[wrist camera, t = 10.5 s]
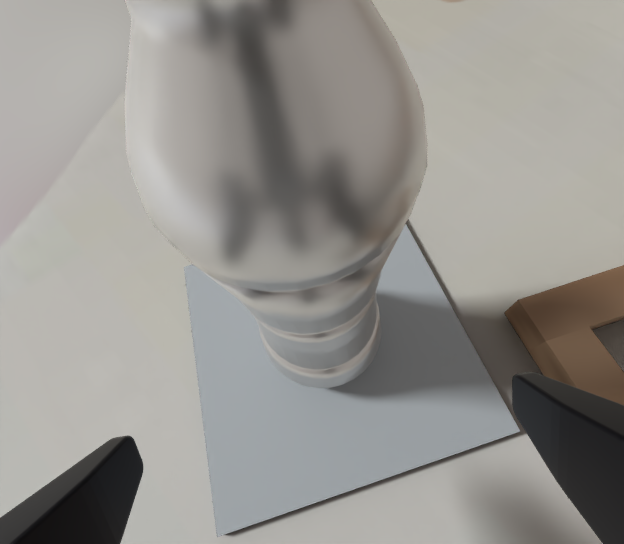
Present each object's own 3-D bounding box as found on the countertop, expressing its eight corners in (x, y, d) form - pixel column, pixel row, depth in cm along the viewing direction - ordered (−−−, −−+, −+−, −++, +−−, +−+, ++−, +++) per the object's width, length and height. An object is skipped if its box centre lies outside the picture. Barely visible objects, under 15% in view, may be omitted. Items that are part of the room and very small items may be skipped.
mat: (515, 431, 17) (520, 431, 17) (221, 534, 17) (217, 537, 16) (393, 207, 25) (393, 202, 25) (187, 271, 24) (183, 267, 24)
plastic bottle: (340, 272, 22) (299, -374, 5) (401, 359, 19) (898, -561, 2) (253, 319, 21) (-184, -277, 4) (303, 419, 18) (-756, -314, 1)
